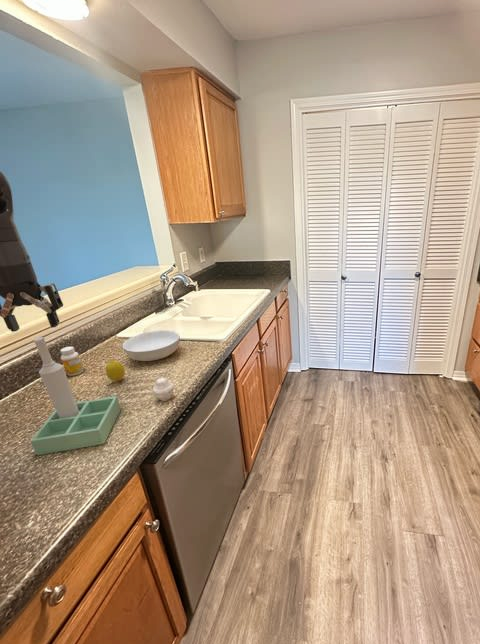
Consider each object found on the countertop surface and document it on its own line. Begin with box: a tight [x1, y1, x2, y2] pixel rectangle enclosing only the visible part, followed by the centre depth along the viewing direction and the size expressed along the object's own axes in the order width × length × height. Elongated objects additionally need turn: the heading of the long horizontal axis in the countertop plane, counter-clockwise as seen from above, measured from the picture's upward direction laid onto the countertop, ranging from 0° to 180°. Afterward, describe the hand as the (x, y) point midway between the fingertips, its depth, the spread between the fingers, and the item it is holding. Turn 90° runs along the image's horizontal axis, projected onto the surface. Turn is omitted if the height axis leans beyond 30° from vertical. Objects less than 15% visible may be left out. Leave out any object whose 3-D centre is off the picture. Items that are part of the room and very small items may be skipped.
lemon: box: [105, 360, 126, 382], centre depth 110 cm, size 6×6×8 cm
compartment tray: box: [29, 396, 122, 456], centre depth 87 cm, size 15×15×4 cm
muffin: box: [152, 377, 175, 402], centre depth 99 cm, size 6×6×7 cm
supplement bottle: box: [60, 346, 85, 377], centre depth 117 cm, size 5×5×10 cm
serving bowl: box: [122, 329, 181, 362], centre depth 128 cm, size 21×21×7 cm
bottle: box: [33, 336, 80, 419], centre depth 85 cm, size 5×5×25 cm
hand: (35, 328), depth 79 cm, fingers open, 8 cm apart
